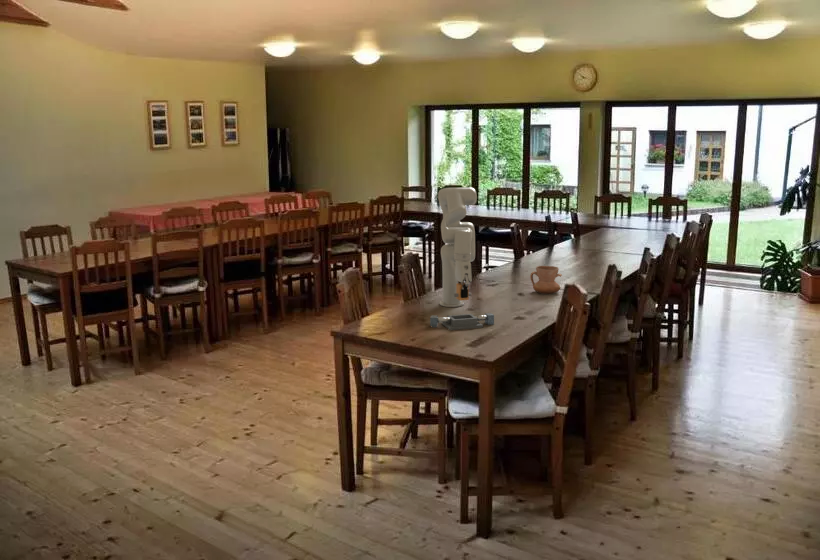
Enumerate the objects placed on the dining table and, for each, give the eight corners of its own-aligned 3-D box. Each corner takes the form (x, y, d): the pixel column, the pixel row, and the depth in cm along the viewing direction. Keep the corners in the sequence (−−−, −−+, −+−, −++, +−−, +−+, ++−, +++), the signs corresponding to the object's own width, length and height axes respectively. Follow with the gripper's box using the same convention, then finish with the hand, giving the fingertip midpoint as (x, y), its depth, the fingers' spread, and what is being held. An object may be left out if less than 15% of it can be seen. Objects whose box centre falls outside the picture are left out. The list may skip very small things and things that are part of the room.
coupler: (453, 298, 326) (453, 283, 325) (468, 297, 328) (468, 282, 327) (456, 300, 322) (456, 285, 320) (471, 299, 324) (472, 284, 322)
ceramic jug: (565, 291, 394) (566, 266, 391) (556, 297, 382) (557, 271, 379) (535, 288, 403) (536, 263, 400) (525, 293, 391) (525, 267, 388)
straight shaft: (475, 325, 327) (475, 316, 326) (472, 323, 331) (472, 314, 330) (493, 324, 330) (494, 315, 329) (490, 322, 333) (490, 312, 333)
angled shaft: (450, 325, 328) (450, 316, 327) (449, 327, 325) (449, 318, 324) (431, 324, 330) (431, 315, 329) (430, 327, 326) (430, 317, 325)
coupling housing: (442, 324, 331) (442, 315, 330) (474, 321, 335) (474, 312, 334) (449, 330, 321) (449, 321, 320) (482, 327, 325) (482, 318, 324)
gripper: (477, 259, 314) (476, 299, 318) (464, 253, 330) (464, 292, 334) (460, 260, 312) (460, 301, 316) (449, 254, 328) (449, 293, 332)
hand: (462, 296), depth 325 cm, fingers closed on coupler, 4 cm apart
